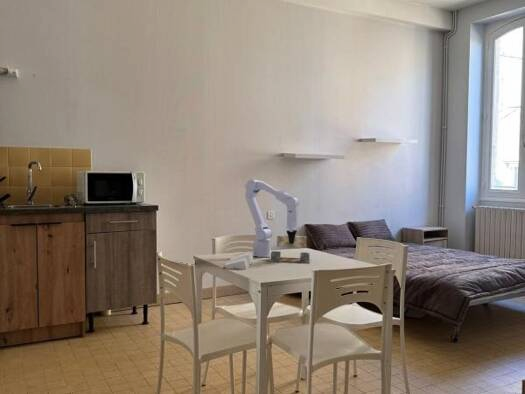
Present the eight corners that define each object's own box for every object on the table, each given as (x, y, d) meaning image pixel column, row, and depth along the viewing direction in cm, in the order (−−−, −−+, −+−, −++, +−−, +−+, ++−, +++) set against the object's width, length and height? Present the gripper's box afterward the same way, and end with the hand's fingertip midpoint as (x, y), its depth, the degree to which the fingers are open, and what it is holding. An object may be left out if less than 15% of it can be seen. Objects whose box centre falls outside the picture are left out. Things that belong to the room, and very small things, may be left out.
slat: (277, 246, 282) (277, 235, 282) (277, 246, 285) (277, 235, 284) (306, 247, 280) (306, 236, 280) (306, 247, 283) (306, 236, 283)
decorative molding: (226, 274, 246) (246, 270, 245) (224, 265, 246) (244, 260, 245) (236, 263, 280) (253, 259, 279) (234, 255, 280) (251, 251, 279)
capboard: (269, 261, 270) (269, 253, 270) (271, 258, 281) (271, 250, 281) (309, 263, 267) (309, 254, 267) (310, 260, 278) (310, 252, 278)
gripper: (298, 220, 274) (298, 245, 275) (299, 218, 289) (299, 242, 289) (285, 219, 275) (285, 244, 276) (287, 217, 290) (286, 241, 290)
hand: (291, 243), depth 282 cm, fingers closed on slat, 2 cm apart
